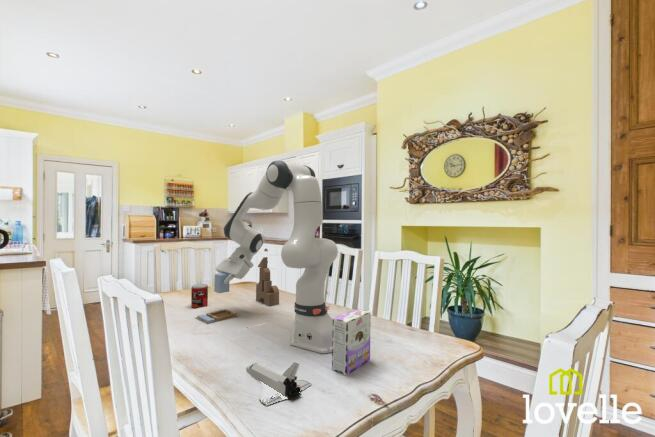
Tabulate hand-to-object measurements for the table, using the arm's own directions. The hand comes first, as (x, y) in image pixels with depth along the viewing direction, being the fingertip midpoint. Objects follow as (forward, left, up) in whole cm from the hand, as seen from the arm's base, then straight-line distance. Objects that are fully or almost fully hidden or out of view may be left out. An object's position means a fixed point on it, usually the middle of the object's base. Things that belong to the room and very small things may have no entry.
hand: (220, 282), depth 151 cm
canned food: (+26, -3, -17) cm, 31 cm away
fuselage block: (0, -1, -4) cm, 4 cm away
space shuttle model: (-63, +19, -18) cm, 68 cm away
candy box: (-72, -7, -17) cm, 74 cm away
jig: (0, +1, -17) cm, 17 cm away
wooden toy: (+9, -33, -17) cm, 38 cm away
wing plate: (0, +7, -16) cm, 17 cm away
